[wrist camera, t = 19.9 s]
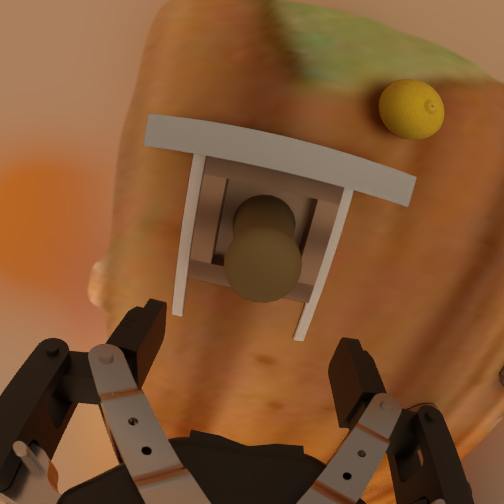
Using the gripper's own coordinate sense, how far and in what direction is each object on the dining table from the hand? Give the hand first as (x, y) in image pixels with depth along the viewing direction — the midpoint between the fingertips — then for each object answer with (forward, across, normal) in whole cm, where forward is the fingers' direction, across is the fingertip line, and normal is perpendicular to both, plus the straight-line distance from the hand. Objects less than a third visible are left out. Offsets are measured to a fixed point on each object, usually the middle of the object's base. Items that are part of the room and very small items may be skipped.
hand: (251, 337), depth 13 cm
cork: (+17, 0, 0) cm, 17 cm away
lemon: (+18, -10, -15) cm, 25 cm away
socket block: (+18, 0, 0) cm, 18 cm away
